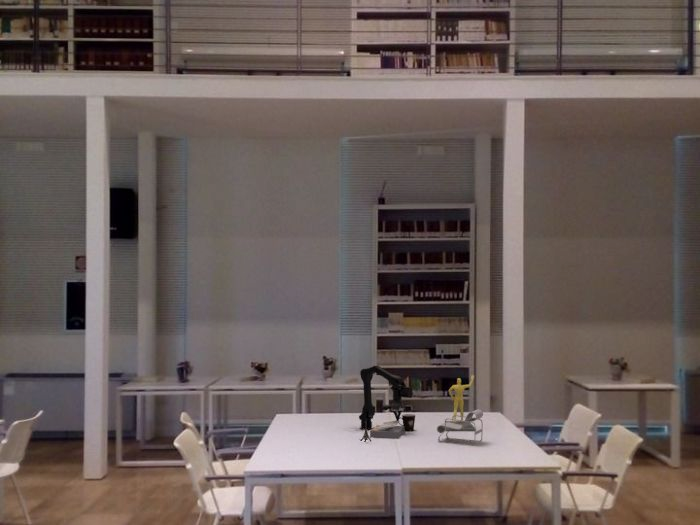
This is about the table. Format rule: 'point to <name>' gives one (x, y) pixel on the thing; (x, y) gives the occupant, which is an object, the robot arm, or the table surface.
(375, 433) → the console
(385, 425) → the rocker
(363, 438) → the eiffel tower figurine
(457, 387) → the statue
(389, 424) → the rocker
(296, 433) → the table surface
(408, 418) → the coffee mug
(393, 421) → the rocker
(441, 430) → the chair
